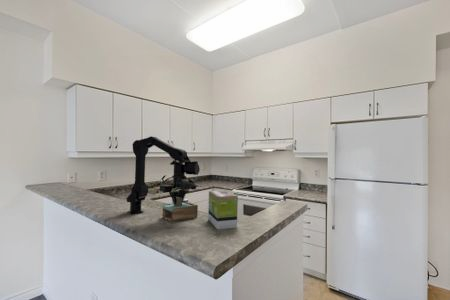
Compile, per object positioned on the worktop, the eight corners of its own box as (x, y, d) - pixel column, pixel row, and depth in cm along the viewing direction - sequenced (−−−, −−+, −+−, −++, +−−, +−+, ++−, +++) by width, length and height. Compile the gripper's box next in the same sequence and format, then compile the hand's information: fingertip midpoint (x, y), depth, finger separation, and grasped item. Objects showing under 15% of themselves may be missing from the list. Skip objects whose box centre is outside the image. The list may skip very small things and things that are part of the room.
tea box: (207, 220, 103) (208, 190, 104) (225, 218, 106) (226, 190, 107) (216, 230, 89) (217, 195, 89) (237, 227, 92) (238, 195, 93)
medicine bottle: (175, 213, 112) (176, 191, 113) (171, 210, 118) (172, 190, 119) (187, 212, 116) (188, 191, 117) (183, 209, 122) (183, 189, 123)
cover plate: (162, 208, 104) (163, 197, 104) (182, 204, 112) (183, 195, 113) (171, 211, 97) (172, 200, 98) (192, 208, 106) (192, 197, 106)
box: (162, 217, 105) (162, 204, 105) (185, 212, 114) (185, 201, 115) (173, 222, 97) (174, 208, 97) (197, 217, 107) (197, 205, 107)
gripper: (171, 175, 93) (169, 210, 93) (203, 174, 106) (201, 204, 106) (159, 173, 101) (158, 205, 101) (190, 172, 114) (189, 201, 114)
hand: (177, 204), depth 105 cm, fingers closed on cover plate, 3 cm apart
